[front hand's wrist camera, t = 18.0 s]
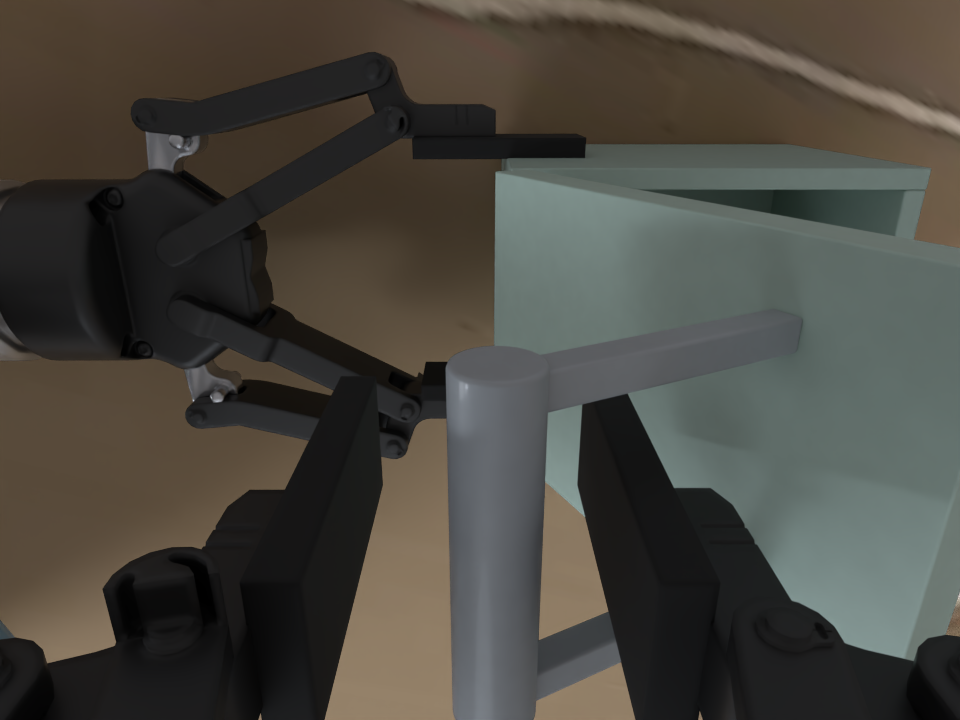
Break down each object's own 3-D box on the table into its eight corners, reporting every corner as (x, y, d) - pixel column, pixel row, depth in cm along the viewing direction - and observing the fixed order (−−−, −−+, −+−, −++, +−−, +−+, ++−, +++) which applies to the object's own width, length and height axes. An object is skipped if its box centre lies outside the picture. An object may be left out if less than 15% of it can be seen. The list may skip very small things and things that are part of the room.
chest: (789, 143, 32) (932, 167, 22) (759, 329, 36) (870, 424, 25) (501, 143, 32) (511, 168, 22) (499, 329, 36) (506, 423, 25)
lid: (1068, 266, 9) (609, 367, 6) (910, 742, 13) (561, 979, 10) (528, 169, 22) (272, 183, 18) (521, 428, 25) (306, 482, 22)
